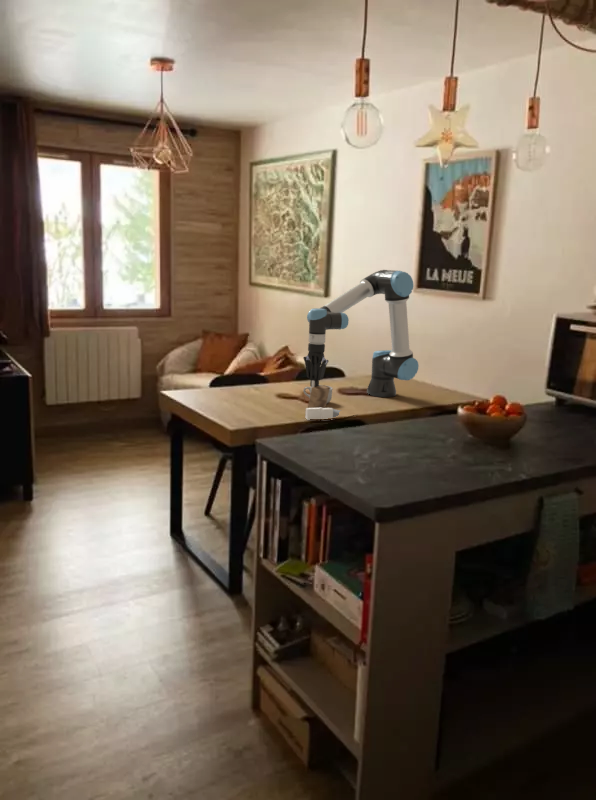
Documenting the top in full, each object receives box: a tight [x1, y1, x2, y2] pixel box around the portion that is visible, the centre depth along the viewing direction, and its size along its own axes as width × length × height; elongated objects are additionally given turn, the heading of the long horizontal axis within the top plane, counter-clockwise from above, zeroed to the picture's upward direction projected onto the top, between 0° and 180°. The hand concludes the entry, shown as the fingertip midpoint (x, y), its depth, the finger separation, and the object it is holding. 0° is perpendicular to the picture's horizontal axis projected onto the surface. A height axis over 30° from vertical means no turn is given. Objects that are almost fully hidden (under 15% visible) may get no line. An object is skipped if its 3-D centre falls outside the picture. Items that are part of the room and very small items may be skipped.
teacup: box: [303, 384, 334, 405], centre depth 326 cm, size 14×11×8 cm
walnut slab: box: [307, 384, 331, 408], centre depth 310 cm, size 9×4×11 cm, turn 141°
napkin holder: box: [304, 407, 334, 421], centre depth 295 cm, size 15×11×6 cm
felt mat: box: [332, 408, 341, 417], centre depth 305 cm, size 14×16×1 cm
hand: (314, 394), depth 311 cm, fingers closed
